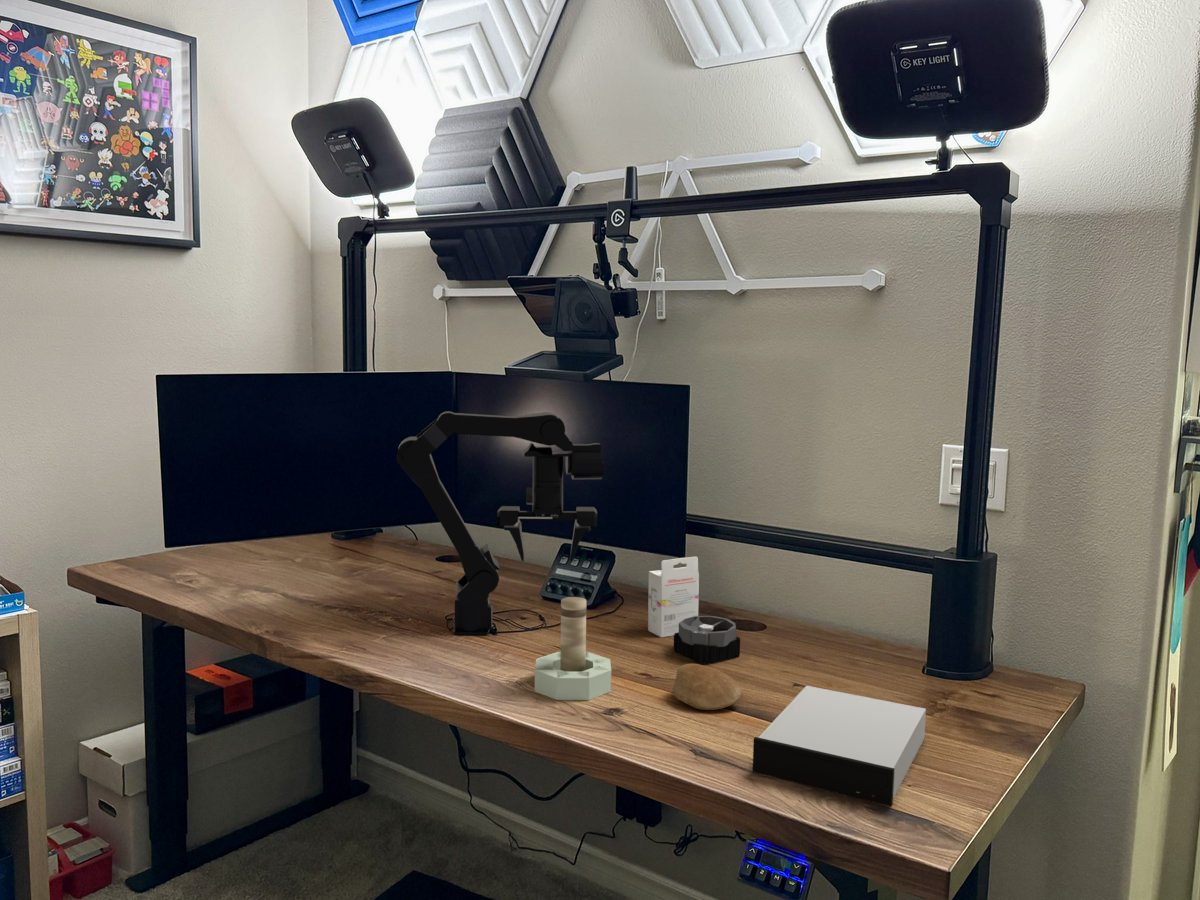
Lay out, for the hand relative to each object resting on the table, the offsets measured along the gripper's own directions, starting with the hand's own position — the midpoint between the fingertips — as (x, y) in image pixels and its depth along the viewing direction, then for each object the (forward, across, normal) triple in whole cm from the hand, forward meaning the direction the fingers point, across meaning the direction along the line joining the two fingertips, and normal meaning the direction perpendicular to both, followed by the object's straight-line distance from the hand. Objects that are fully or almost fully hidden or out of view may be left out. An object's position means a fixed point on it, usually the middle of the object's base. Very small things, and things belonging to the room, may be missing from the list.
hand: (547, 560), depth 178 cm
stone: (+13, -25, +37) cm, 46 cm away
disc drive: (+14, -42, +55) cm, 70 cm away
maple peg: (+13, -5, +30) cm, 33 cm away
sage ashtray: (+13, -5, +30) cm, 33 cm away
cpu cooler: (+13, -29, +14) cm, 35 cm away
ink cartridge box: (+13, -24, +2) cm, 28 cm away
